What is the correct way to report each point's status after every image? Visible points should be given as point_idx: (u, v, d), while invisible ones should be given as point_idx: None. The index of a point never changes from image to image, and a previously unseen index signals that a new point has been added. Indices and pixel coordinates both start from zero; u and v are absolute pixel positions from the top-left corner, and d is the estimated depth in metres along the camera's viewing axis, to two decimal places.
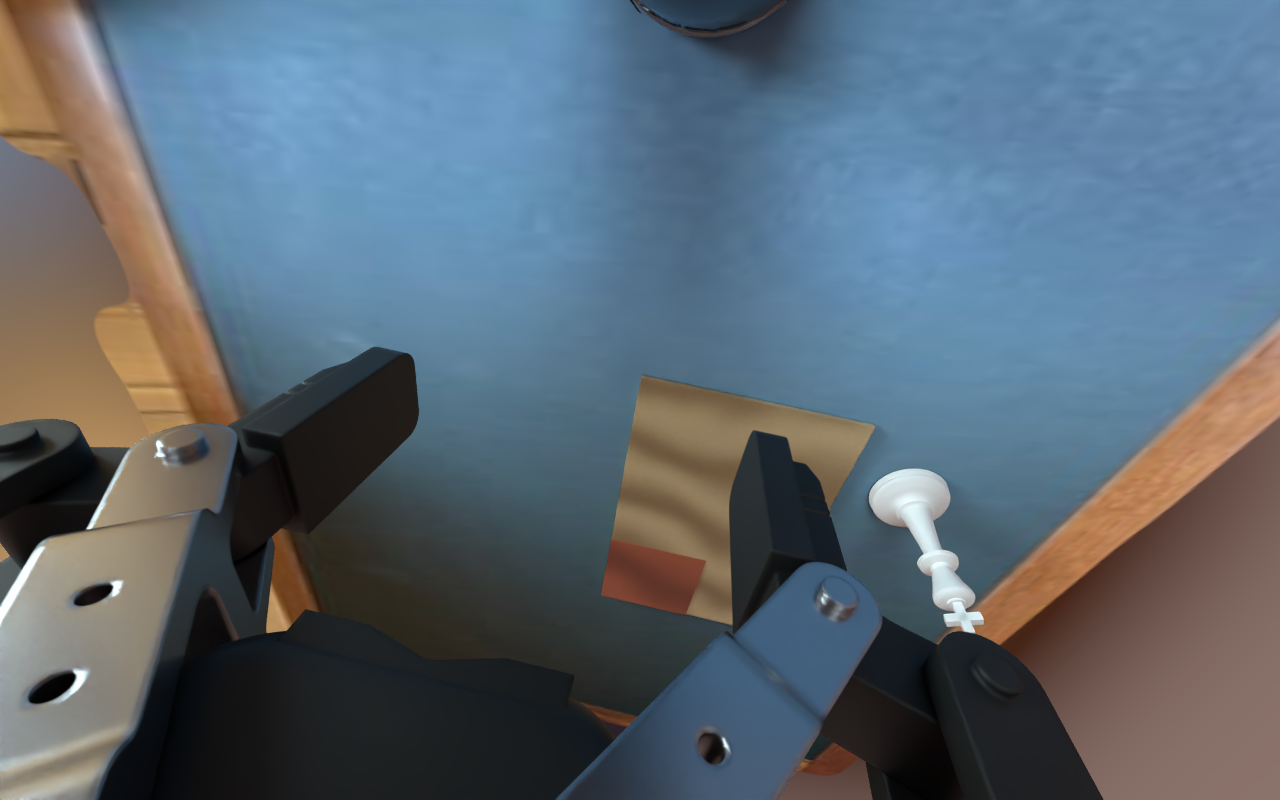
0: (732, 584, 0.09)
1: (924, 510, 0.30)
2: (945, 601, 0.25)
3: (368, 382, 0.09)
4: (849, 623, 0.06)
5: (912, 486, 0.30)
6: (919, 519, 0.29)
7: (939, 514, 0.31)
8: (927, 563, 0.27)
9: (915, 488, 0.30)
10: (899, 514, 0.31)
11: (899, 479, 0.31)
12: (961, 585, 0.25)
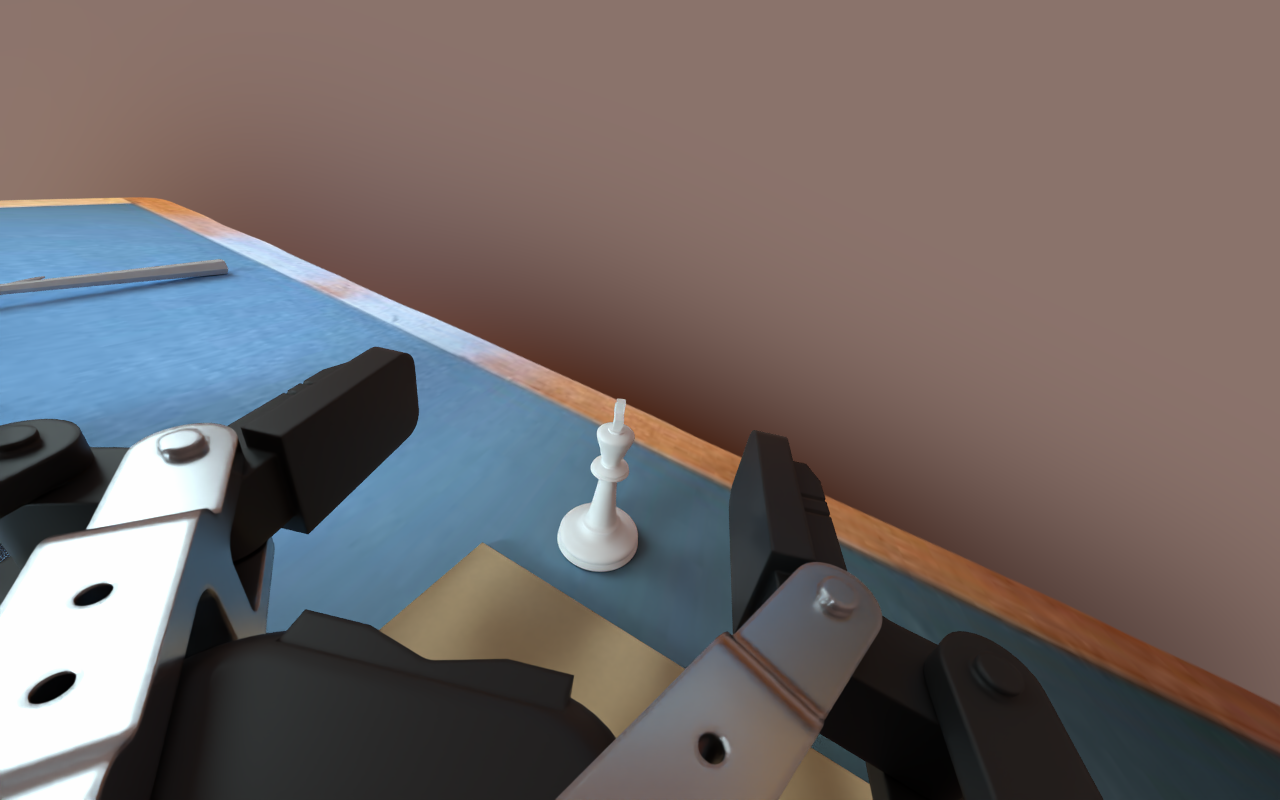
0: (732, 584, 0.09)
1: None
2: (612, 435, 0.24)
3: (368, 382, 0.09)
4: (849, 623, 0.06)
5: (570, 522, 0.28)
6: (591, 504, 0.27)
7: (619, 511, 0.30)
8: (603, 471, 0.25)
9: (573, 520, 0.28)
10: (598, 530, 0.27)
11: (561, 533, 0.28)
12: None
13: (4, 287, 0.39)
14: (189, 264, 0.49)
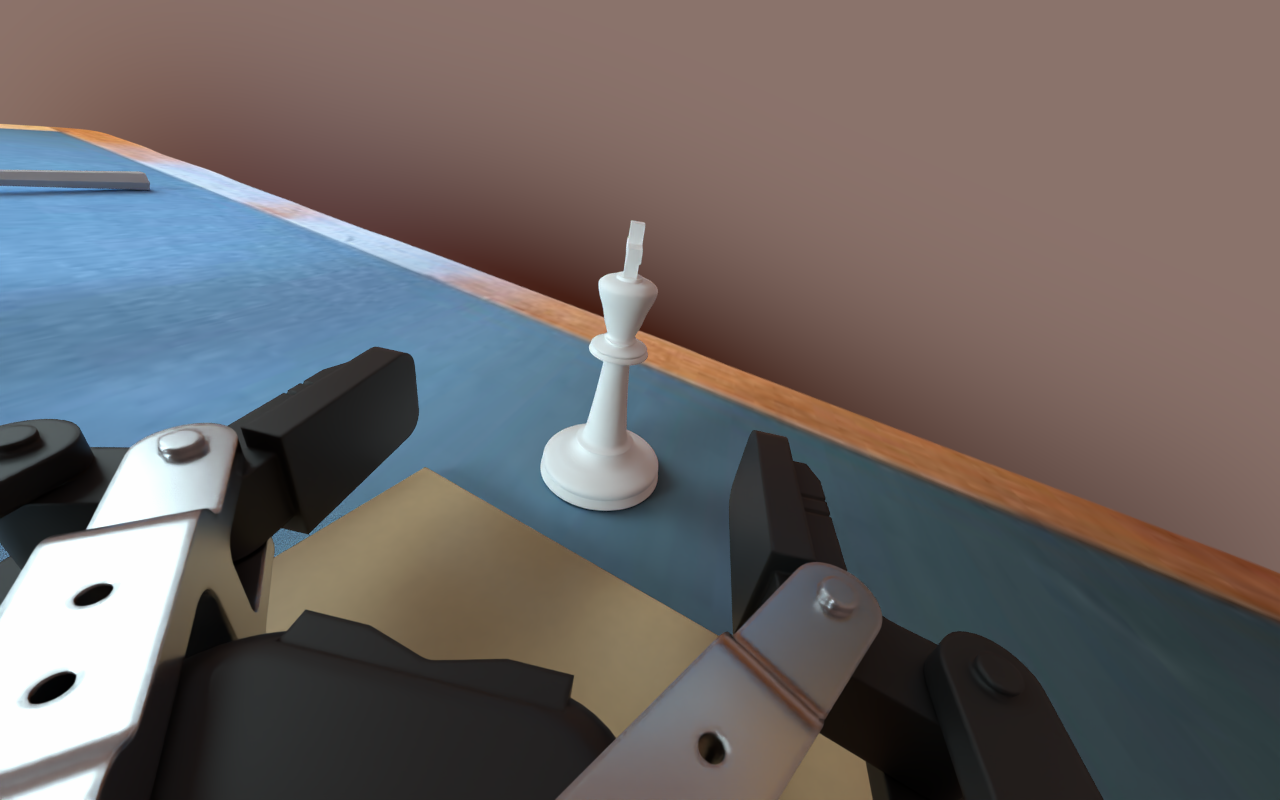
0: (732, 584, 0.09)
1: None
2: (623, 282, 0.15)
3: (368, 382, 0.09)
4: (849, 623, 0.06)
5: (559, 442, 0.19)
6: (590, 412, 0.18)
7: (630, 433, 0.21)
8: (608, 348, 0.16)
9: (564, 440, 0.19)
10: (600, 450, 0.18)
11: (546, 458, 0.19)
12: None
13: None
14: (96, 172, 0.40)
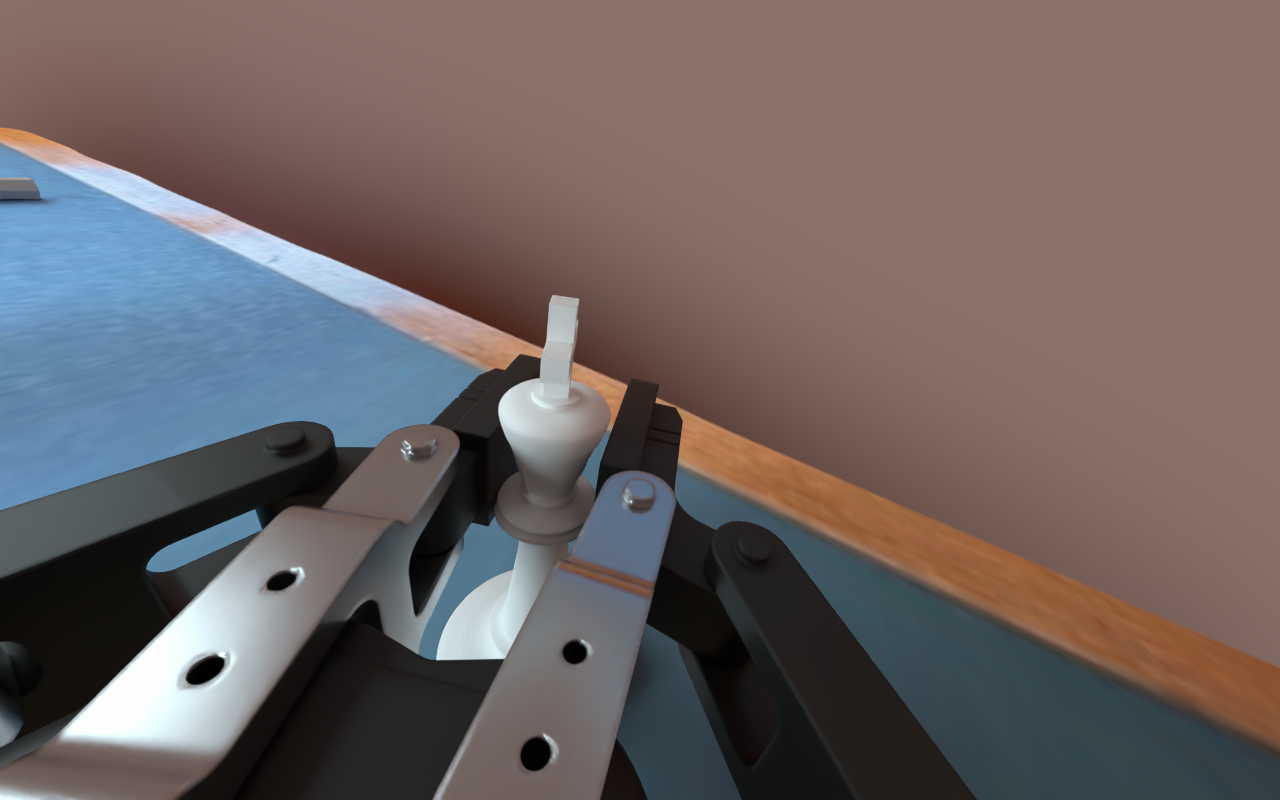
0: None
1: None
2: (541, 410, 0.08)
3: None
4: (642, 511, 0.07)
5: (467, 622, 0.12)
6: (509, 588, 0.11)
7: None
8: (523, 513, 0.09)
9: (475, 617, 0.12)
10: None
11: (441, 654, 0.12)
12: None
13: None
14: None
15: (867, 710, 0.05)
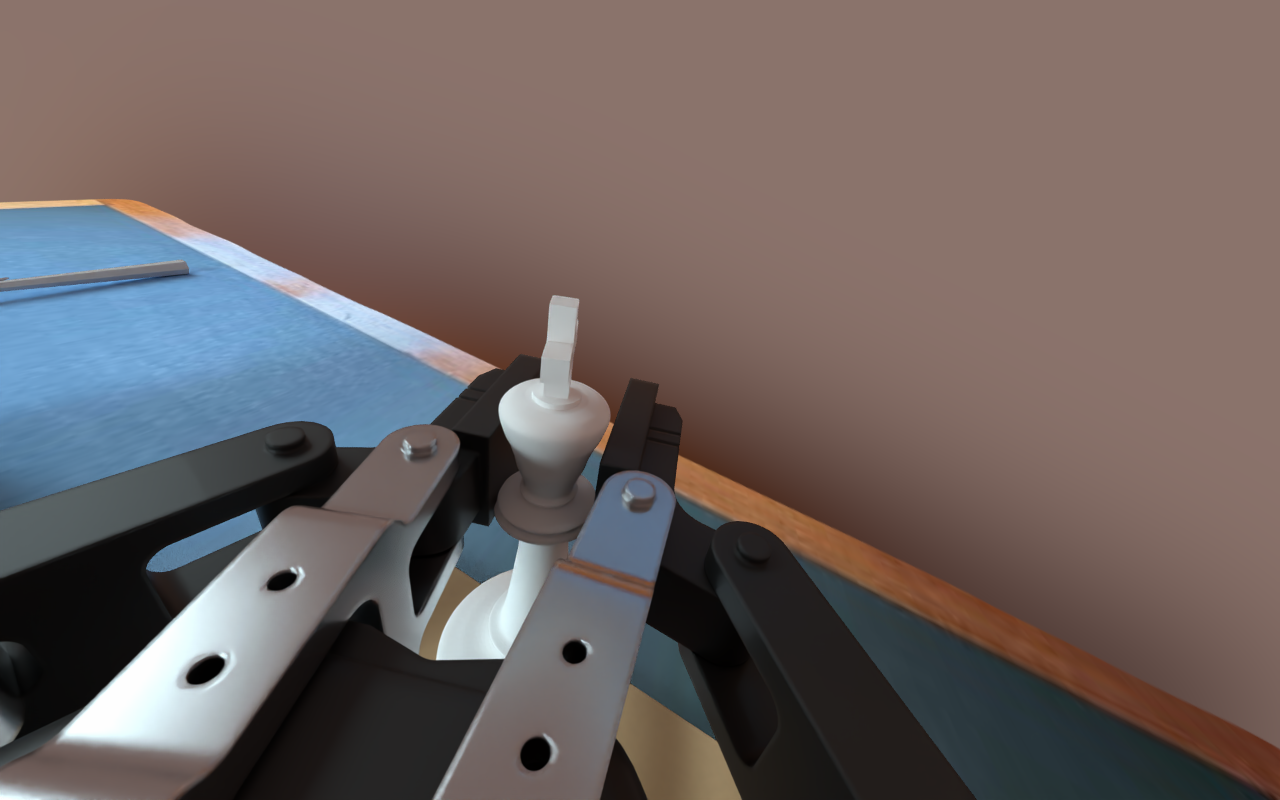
0: None
1: None
2: (541, 409, 0.08)
3: None
4: (642, 512, 0.07)
5: (467, 622, 0.12)
6: (509, 588, 0.11)
7: None
8: (523, 513, 0.09)
9: (475, 617, 0.12)
10: None
11: (441, 653, 0.12)
12: None
13: None
14: (149, 265, 0.51)
15: (868, 711, 0.05)
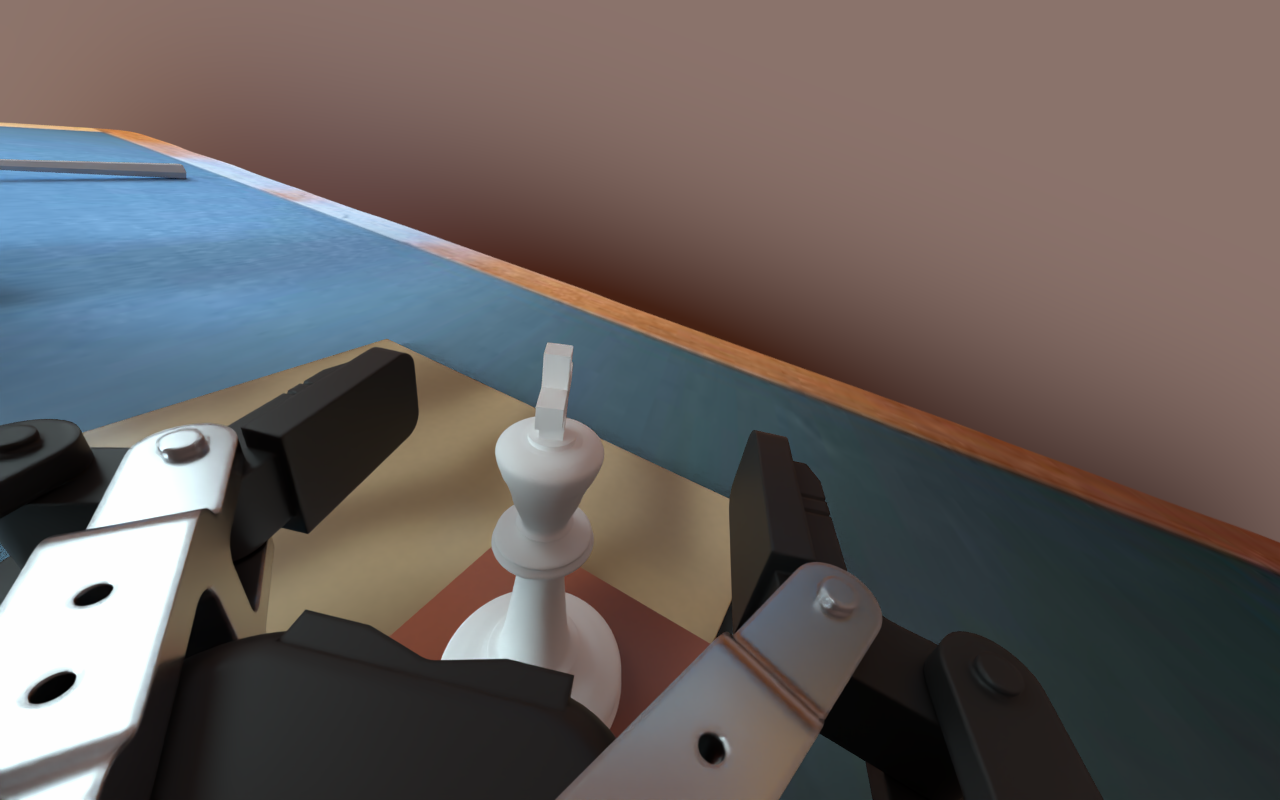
0: (732, 584, 0.09)
1: None
2: (536, 452, 0.08)
3: (368, 382, 0.09)
4: (849, 623, 0.06)
5: (466, 647, 0.12)
6: (506, 616, 0.11)
7: (583, 608, 0.14)
8: (519, 548, 0.09)
9: (474, 642, 0.12)
10: None
11: None
12: None
13: None
14: (146, 164, 0.51)
15: None
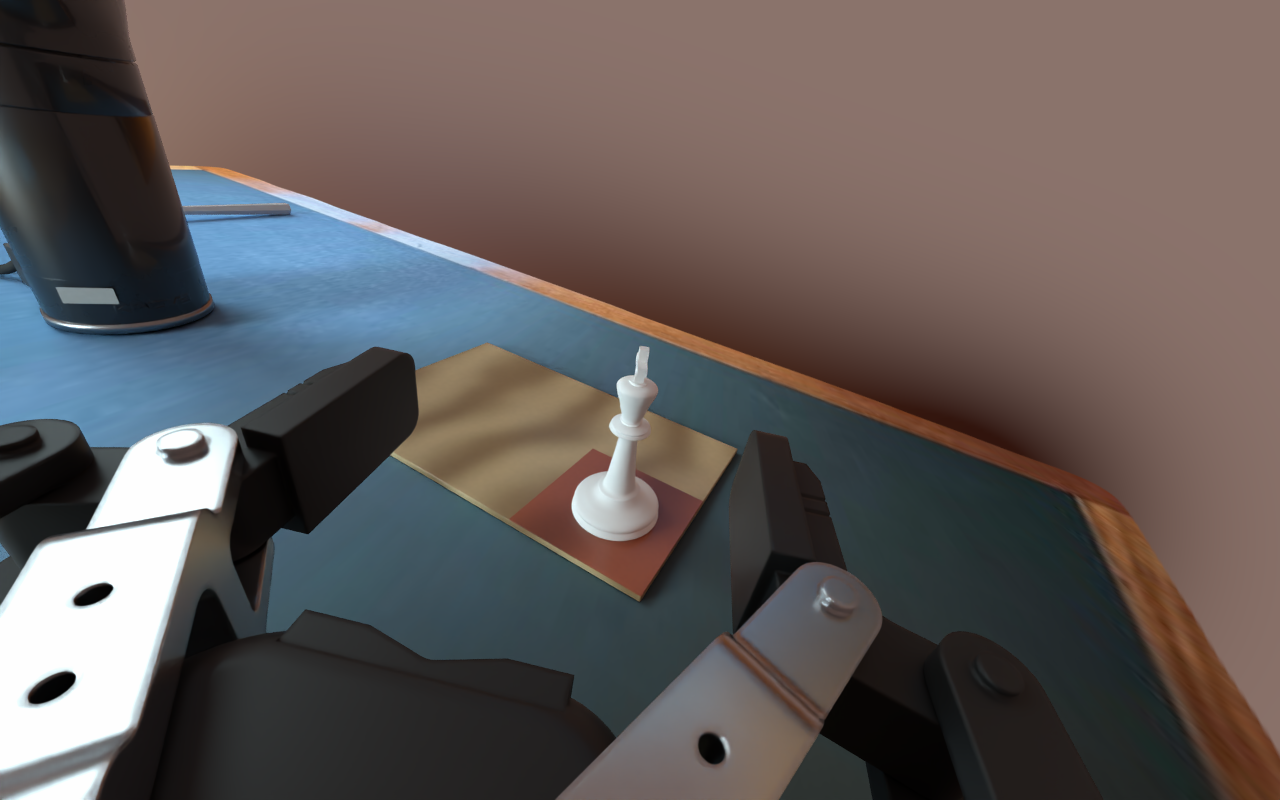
0: (732, 584, 0.09)
1: None
2: (634, 387, 0.22)
3: (368, 382, 0.09)
4: (849, 623, 0.06)
5: (586, 489, 0.26)
6: (609, 468, 0.25)
7: (638, 479, 0.27)
8: (623, 428, 0.23)
9: (589, 487, 0.26)
10: (616, 496, 0.25)
11: (576, 501, 0.25)
12: None
13: None
14: (264, 204, 0.65)
15: None
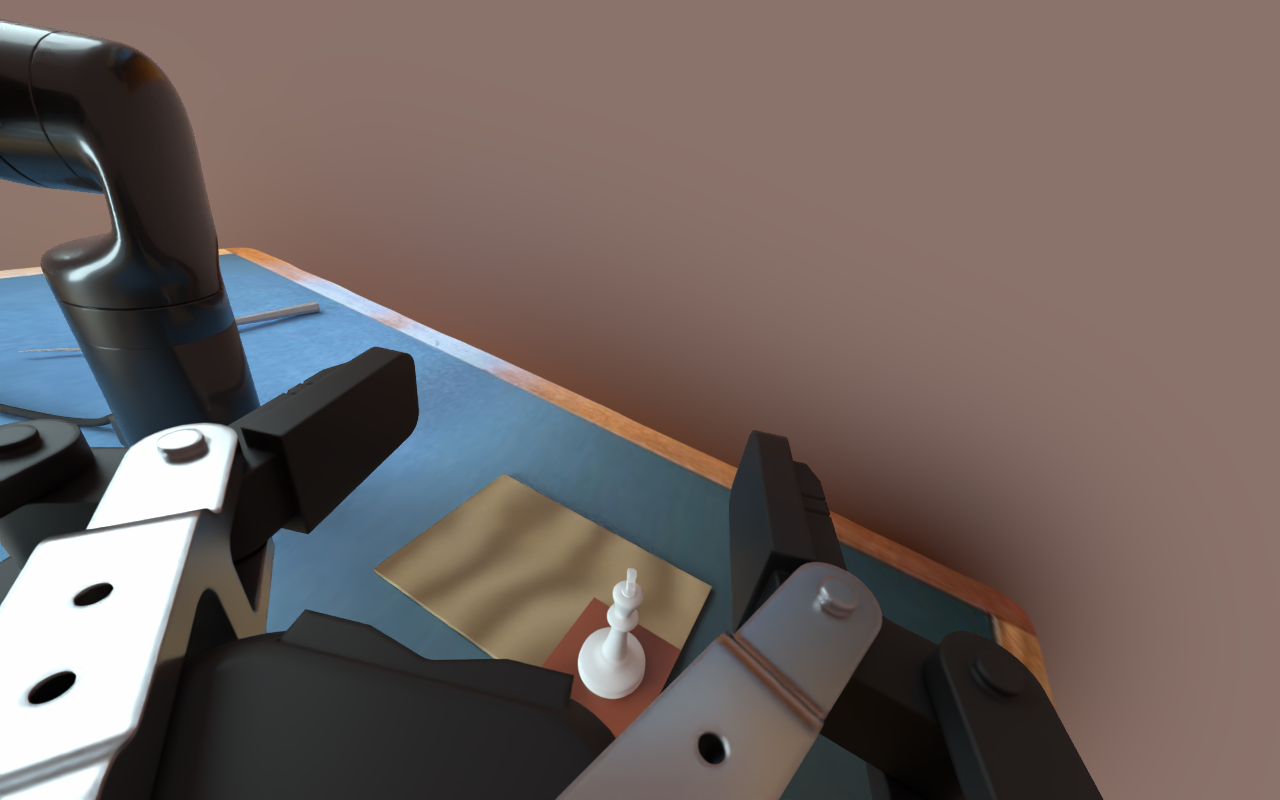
0: (732, 584, 0.09)
1: (606, 639, 0.33)
2: (625, 598, 0.29)
3: (368, 382, 0.09)
4: (849, 623, 0.06)
5: (588, 651, 0.33)
6: (607, 640, 0.32)
7: (629, 636, 0.35)
8: (617, 621, 0.30)
9: (591, 649, 0.33)
10: (612, 663, 0.32)
11: (581, 662, 0.33)
12: (614, 588, 0.30)
13: None
14: (297, 307, 0.72)
15: None
